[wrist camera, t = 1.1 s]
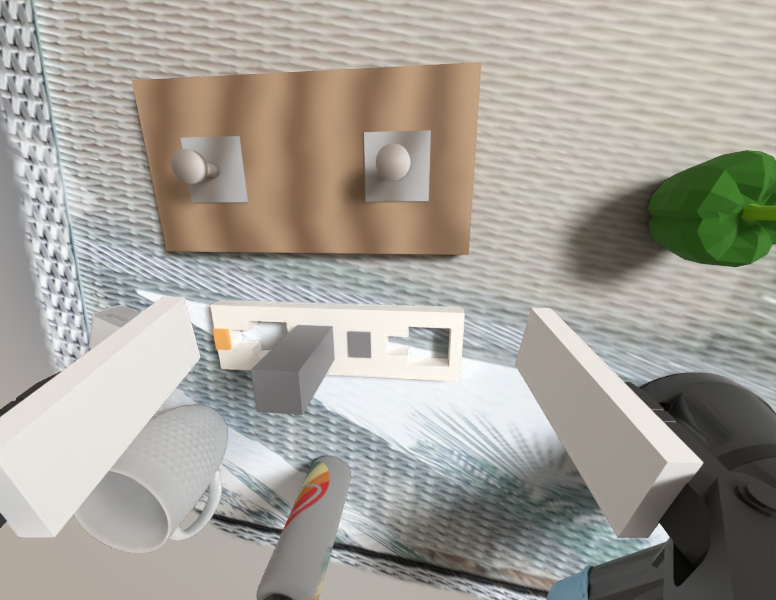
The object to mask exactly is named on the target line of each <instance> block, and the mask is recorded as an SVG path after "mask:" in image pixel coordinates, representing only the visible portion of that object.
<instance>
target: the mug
mask: <svg viewBox="0 0 776 600" xmlns="http://www.w3.org/2000/svg"><path fill="white" fill-rule="evenodd" d="M227 440H228V430H227V425H226V423H225V420H224V419H223V417H222V416H221V415H220V414H219V413H218V412H217V411H215V410H214V409H212V408H210V407H207V406H203V405H188V406H183V407H178V408H176V409H171V410H169V411H168V412H164V413H162V414H160V415H159V416H156V417H154V418H152V419H151V420H149V422H148V423H147V424H146V425H145V427H144V428H143V429H142V430H141V431H140V433H139V434H138V435H137V436H136V438H135V439H134V440H133V441H132V443H131V444H130V445H129V446H128V448H127V449H126V450H125V451H124V452H123V454H122V455H121V456H120V457H119V459H118V460H117V461H116V462H115V464H114V465H113V466H112V467H111V468H110V470H109V471H108V472H107V473H106V475H105V476H104V477H103V478H102V480H101V481H100V482H99V483H98V485H97V486H96V487H95V488H94V489H93V491H92V492H91V493H90V494H89V496H88V497H87V498H86V499H85V501H84V502H83V503H82V504H81V506H80V507H79V508H78V509H77V510H76V512H75V513H74V514H73V516H74V517H75V519H76V520H77V522H78V523H79V524H80V526H81V527H82V528H83V529H84V530H85V531H86V532H87V533H88V534H90V535H91V536H92V537H93V538H95V539H96V540H98V541H100V542H101V543H103V544H105V545H107V546H109V547H111V548H114V549H117V550H120V551H124V552H128V553H148V552H151V551H154V550H156V549H158V548H160V547H161V546H162V545H164V543H165V542H166V541H167V540H168V539H170V540H174V541H180V540H185V539H188V538H190V537H192V536H194V535H195V534H197V533H198V532H199V531H200V530H201V529H202V528H203V527H204V526H205V525H206V524H207V523H208V522H209V520H210V519H211V517H212V516H213V514H214V512H215V511H216V509H217V506H218V504H219V501H220V498H221V493H222V483H221V477H220V473H219V471H218V468H219V466H220V463H221V462H222V460H223V456H224V454H225V450H226V447H227ZM208 486H209V489H210V491H209V497H208V501H207V503H206V506H205V508H204V510H203V511H202V513H201V515H200V516H199V517H198V519H197V520H196V521H195V522H194V523H193V524H192V525H191V526H190V527H189V528H187V529H186V530H184V531H182V529H181V528H180V524H181V522H183V520H184V519H185V518H186V517H187V515H188V513H189V512H190V511H191V510H192V509H193V507H194V506H195V505H196V503H197V501H198V500H199V499H200V498H201V496H202V495H203V493H204V491H205V490H206V489H207V488H208Z"/></svg>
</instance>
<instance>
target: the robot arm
mask: <svg viewBox="0 0 776 600" xmlns="http://www.w3.org/2000/svg"><path fill="white" fill-rule="evenodd" d="M199 359H200V354H199V350H198V347H197V343H196V339H195V335H194V332H193V328H192V324H191V320H190V317H189V313H188V309H187V306H186V302H185V298H184V297H162V298H160V299H159V300H158V301H156V302H155V303H154V304H152V305H151V306H150V307H148V308H147V309H146V310H144V311H143V312H142V313H140V314H139V315H138V316H136V317H135V318H133V319H132V320H131V321H129V322H128V323H127V324H125V325H124V326H123V327H121V328H120V329H119V330H117V331H116V332H115V333H113V334H112V335H111V336H109V337H108V338H106V339H105V340H104V341H102V342H101V343H100V344H98V345H97V346H96V347H94V348H93V349H92V350H90V351H89V352H88V353H86V354H85V355H84V356H82V357H81V358H79V359H78V360H77V361H75V362H74V363H73V364H71V365H70V366H69V367H67V368H66V369H65V370H63V371H61V372H59V373H57V374H55V375H52V376H51V377H48V378H46V379H44V380H42V381H40V382H38V383H36V384H35V385H34V386H32V387H31V388H29V389H28V390H27V391H25V392H24V393H23V394H21V395H20V396H18V397H17V398H16V401H12V402H10V403H9V404H7V405H6V406H4V407H3V408H2V409H0V528H1V527H2V526H3V525H4V524H5V523H6V522H7V524H8V525H9V526H10V527H11V528H12V529H13V531H14V532H15V533H16V534H17V535H18V537H55V536H56V535H57V534H58V533H59V531H60V530H61V529H62V528H63V527H64V525H65V524H66V523H67V522H68V520H69V519H70V518H71V517H72V515H73V514H74V513H75V512H76V510H77V509H78V508H79V507H80V506H81V504H82V503H83V502H84V501H85V499H86V498H87V497H88V496H89V494H90V493H91V492H92V491H93V489H94V488H95V487H96V486H97V485H98V483H99V482H100V481H101V480H102V478H103V477H104V476H105V475H106V473H107V472H108V471H109V470H110V468H111V467H112V466H113V465H114V464H115V462H116V461H117V460H118V459H119V457H120V456H121V455H122V454H123V452H124V451H125V450H126V449H127V448H128V446H129V445H130V444H131V443H132V441H133V440H134V439H135V438H136V436H137V435H138V434H139V433H140V431H141V430H142V429H143V428H144V427H145V425H146V424H147V423H148V422H149V420H150V419H151V418H152V417H153V415H154V414H155V413H156V412H157V410H158V409H159V408H160V407H161V406H162V404H163V403H164V402H165V401H166V399H167V398H168V397H169V396H170V394H171V393H172V392H173V391H174V389H175V388H176V387H177V386H178V385H179V383H180V382H181V381H182V380H183V378H184V377H185V376H186V375H187V373H188V372H189V371H190V370H191V368H192V367H193V366H194V365H195V364H196V362H197V361H198V360H199ZM515 365H516V367H517V368H518V370H519V372H520V373H521V375H522V377H523V379H524V380H525V382H526V384H527V385H528V387H529V389H530V390H531V392H532V394H533V395H534V397H535V399H536V400H537V402H538V404H539V406H540V407H541V409H542V411H543V412H544V414H545V416H546V417H547V419H548V421H549V422H550V424H551V426H552V427H553V429H554V431H555V432H556V434H557V436H558V438H559V439H560V441H561V443H562V444H563V446H564V448H565V449H566V451H567V453H568V454H569V456H570V458H571V459H572V461H573V463H574V465H575V466H576V468H577V470H578V471H579V473H580V475H581V476H582V478H583V480H584V481H585V483H586V485H587V486H588V488H589V490H590V492H591V493H592V495H593V497H594V498H595V500H596V502H597V503H598V505H599V507H600V508H601V510H602V512H603V513H604V515H605V517H606V518H607V520H608V522H609V524H610V525H611V527H612V529H613V530H614V532H615V534H616V535H617V537H618V538H648V537H649V536H650V535H651V533H652V532H653V531H654V529H655V528H656V527H657V525H658V524H659V523H660V524H661V525H662V527H663V528H664V530H665V531H666V532H667V534H668V535H669V537H670V538H669V539H668V540H667V542H664V543H661V544H658V545H655V546H652V547H649V548H647V549H644V550H641V551H638V552H635V553H632V554H629V555H626V556H623V557H621V558H618V559H615V560H612V561H609V562H606V563H603V564H600V565H597V566H595V567H594V566H590V565H589V566H586V567H585V568H584V570H583V571H581V572H579V573H577V574H574V575H572V576H570V577H567V578H565V579H563V580H560V581H558V582H557V583H555V584H554V585H553V586H552V588H551V589H550V591H549V594H548V597H547V600H776V413H775V412H774V410H773V409H772V408H771V407H770V406H769V404H768V403H767V402H765V401H764V400H763V399H762V398H761V397H759V396H758V395H756V394H755V393H753V392H752V391H750V390H748V389H746V388H745V387H743V386H741V385H740V384H738V383H736V382H734V381H732V380H730V379H728V378H725V377H722V376H719V375H714V374H708V373H684V374H677V375H672V376H668V377H665V378H662V379H659V380H657V381H654V382H652V383H650V384H648V385H646V386H644V387H643V388H641V389H640V388H638V387H637V386H635V385H634V384H632V383H631V382H623V381H622V380H621V379H620V378H619V377H618V376H617V375H616V374H615V373H614V372H613V371H612V370H611V369H610V368H609V367H608V366H607V365H606V364H605V363H604V362H603V361H602V360H601V359H600V358H599V357H598V356H597V355H596V354H595V353H594V352H593V351H592V350H591V349H590V348H589V347H588V346H587V345H586V344H585V343H584V342H583V341H582V340H581V339H580V338H579V336H578V335H577V334H576V333H575V332H574V331H573V330H572V329H571V328H570V327H569V326H568V325H567V324H566V323H565V322H564V321H563V320H562V319H561V318H560V317H559V316H558V315H557V314H556V313H555V312H554V311H553V310H552V309H551V308H531V311H530V314H529V318H528V321H527V325H526V328H525V332H524V336H523V339H522V343H521V346H520V350H519V353H518V357H517V360H516V364H515Z"/></svg>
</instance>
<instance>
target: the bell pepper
mask: <svg viewBox="0 0 776 600" xmlns="http://www.w3.org/2000/svg"><path fill="white" fill-rule="evenodd" d="M647 210H648V211H649V212H650V213H651V214H652V217H651V219H650V220H649V222H648V224H649V231H650V236H651V238H652V239H653V240H655V241H656V242H657V243H659V244H660V245H662V246H663V247H665V248H666V249H668V250H669V251H671V252H673V253H674V254H676V255H678V256H679V257H681V258H683V259H685V260H689V261H693V262H697V263H701V264H710V265H720V266H730V267H739V266H743V265H748V264H751V263H753V262H755V261H757V260H758V259H760V258H762V257H763V256H765V255H767V254H768V252H769V250H770V248H771V246H772V245H773V244H776V160H775V159H774V157H773V156H771V155H768V154H766V153H763V152H761V151H749V150H746V151H741V152H735V153H730V154H724V155H721V156H719V157H716V158H714V159H711V160H709V161H706V162H704V163H701V164H699V165H696V166H694V167H691V168H689V169H687V170H684V171H682V172H680V173H677V174H675V175H673V176H671V177H670V178H668V179H666V180H665V181H664V182H663V183H662V185H661V186H660V187H659V188H658V189H657V190H656V192H655V193H654V194H653V195H652V197H651V199H650V202H649V205H648V208H647Z"/></svg>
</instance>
